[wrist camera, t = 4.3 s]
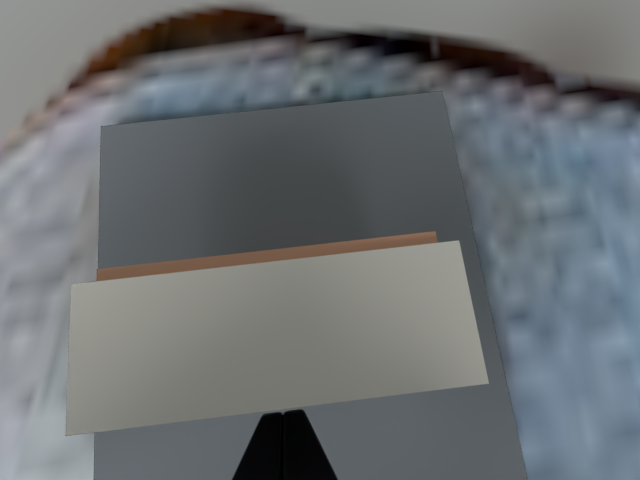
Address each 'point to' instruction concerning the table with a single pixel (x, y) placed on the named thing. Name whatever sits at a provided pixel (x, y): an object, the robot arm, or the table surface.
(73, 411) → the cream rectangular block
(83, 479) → the table surface
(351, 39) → the table surface
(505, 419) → the mat
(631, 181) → the table surface
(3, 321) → the table surface
